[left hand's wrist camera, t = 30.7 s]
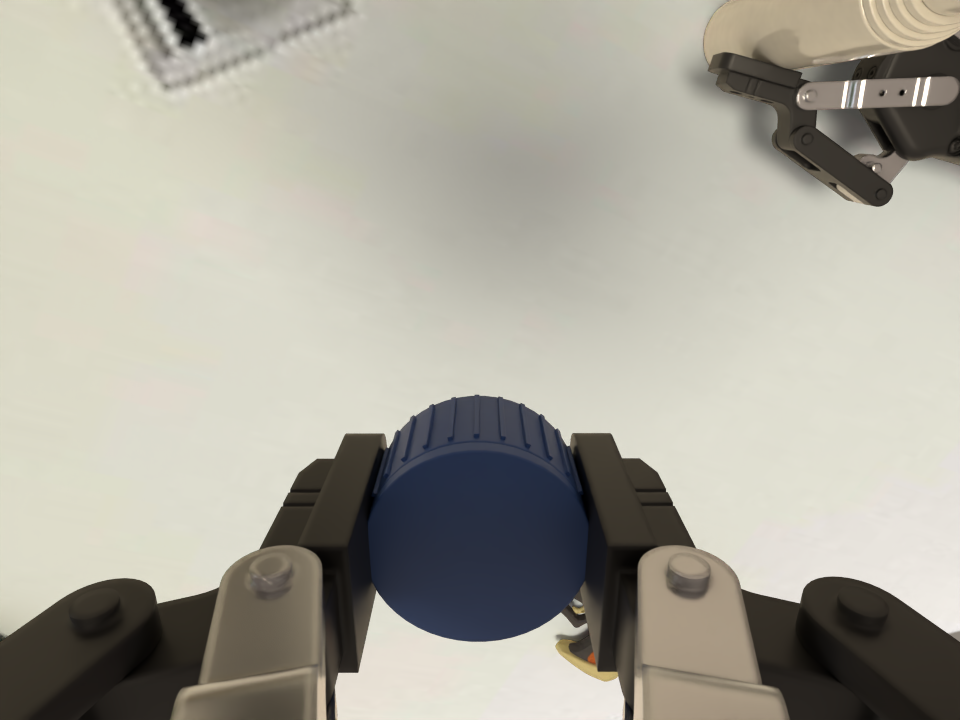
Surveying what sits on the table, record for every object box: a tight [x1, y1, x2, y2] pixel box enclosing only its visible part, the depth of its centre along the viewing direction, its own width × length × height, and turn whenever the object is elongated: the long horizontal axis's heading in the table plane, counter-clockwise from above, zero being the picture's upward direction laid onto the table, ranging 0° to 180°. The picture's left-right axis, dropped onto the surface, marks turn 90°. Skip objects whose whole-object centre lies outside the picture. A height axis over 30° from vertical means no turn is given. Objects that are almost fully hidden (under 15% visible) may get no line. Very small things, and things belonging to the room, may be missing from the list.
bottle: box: [704, 0, 960, 70], centre depth 26 cm, size 4×4×20 cm
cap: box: [368, 395, 589, 642], centre depth 11 cm, size 4×4×2 cm
